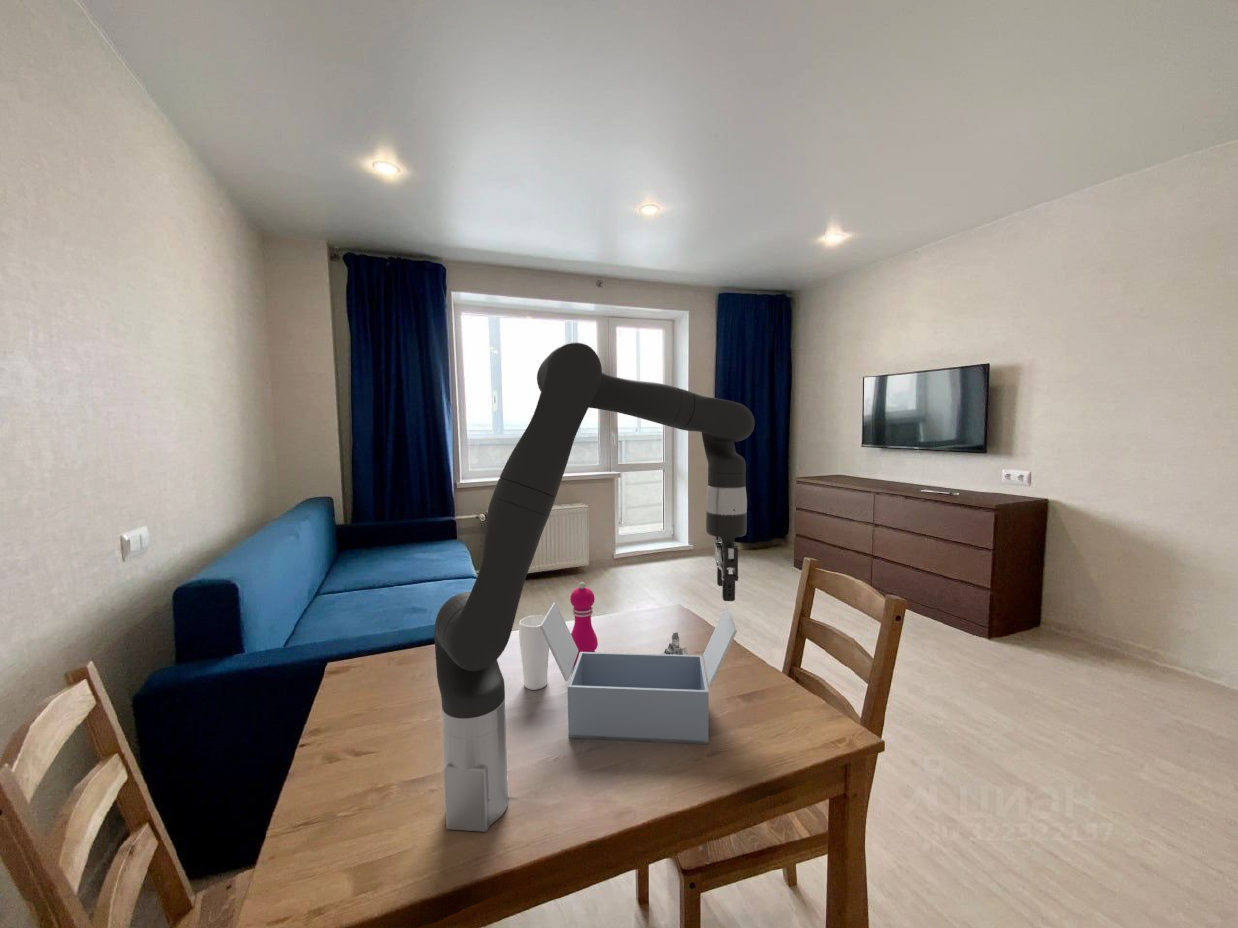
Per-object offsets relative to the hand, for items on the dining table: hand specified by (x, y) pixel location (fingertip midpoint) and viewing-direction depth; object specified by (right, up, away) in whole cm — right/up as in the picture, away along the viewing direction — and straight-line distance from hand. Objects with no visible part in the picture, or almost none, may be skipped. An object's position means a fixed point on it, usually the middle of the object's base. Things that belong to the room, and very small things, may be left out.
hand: (725, 592), depth 94 cm
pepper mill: (-29, -25, +28) cm, 47 cm away
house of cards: (-4, -25, +27) cm, 37 cm away
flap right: (-1, -10, +1) cm, 10 cm away
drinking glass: (-39, -26, +17) cm, 50 cm away
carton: (-17, -26, +4) cm, 31 cm away
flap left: (-32, -10, +4) cm, 34 cm away
